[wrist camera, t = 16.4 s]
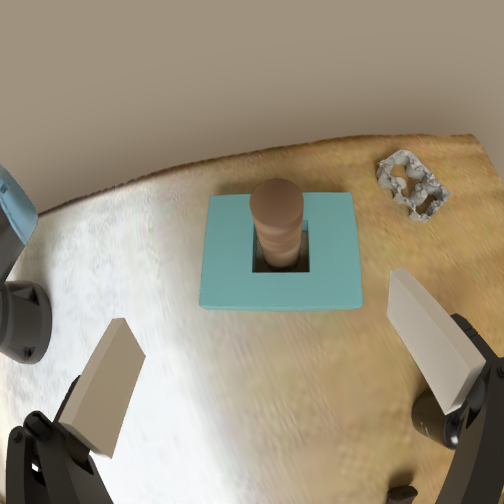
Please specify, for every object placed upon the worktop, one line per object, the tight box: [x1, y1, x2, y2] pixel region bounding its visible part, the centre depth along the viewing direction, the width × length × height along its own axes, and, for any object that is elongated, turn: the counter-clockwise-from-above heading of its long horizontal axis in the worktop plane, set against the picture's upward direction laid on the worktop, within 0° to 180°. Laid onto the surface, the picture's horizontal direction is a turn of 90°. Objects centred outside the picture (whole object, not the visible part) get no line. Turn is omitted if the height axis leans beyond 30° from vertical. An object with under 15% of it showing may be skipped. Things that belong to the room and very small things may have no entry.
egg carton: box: [376, 150, 451, 223], centre depth 33 cm, size 11×8×4 cm
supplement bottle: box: [412, 388, 468, 450], centre depth 18 cm, size 7×7×12 cm
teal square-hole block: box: [199, 192, 363, 311], centre depth 33 cm, size 18×14×3 cm
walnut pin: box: [249, 179, 304, 272], centre depth 28 cm, size 4×4×13 cm
